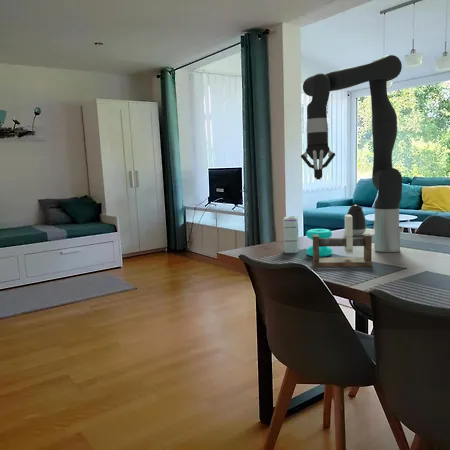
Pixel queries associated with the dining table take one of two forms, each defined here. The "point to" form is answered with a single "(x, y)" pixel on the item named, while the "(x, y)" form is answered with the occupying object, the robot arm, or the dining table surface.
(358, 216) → the dark grey egg shape
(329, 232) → the donuts
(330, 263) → the pipe stand
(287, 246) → the syrup box
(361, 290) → the dining table surface
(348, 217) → the white tall bar
